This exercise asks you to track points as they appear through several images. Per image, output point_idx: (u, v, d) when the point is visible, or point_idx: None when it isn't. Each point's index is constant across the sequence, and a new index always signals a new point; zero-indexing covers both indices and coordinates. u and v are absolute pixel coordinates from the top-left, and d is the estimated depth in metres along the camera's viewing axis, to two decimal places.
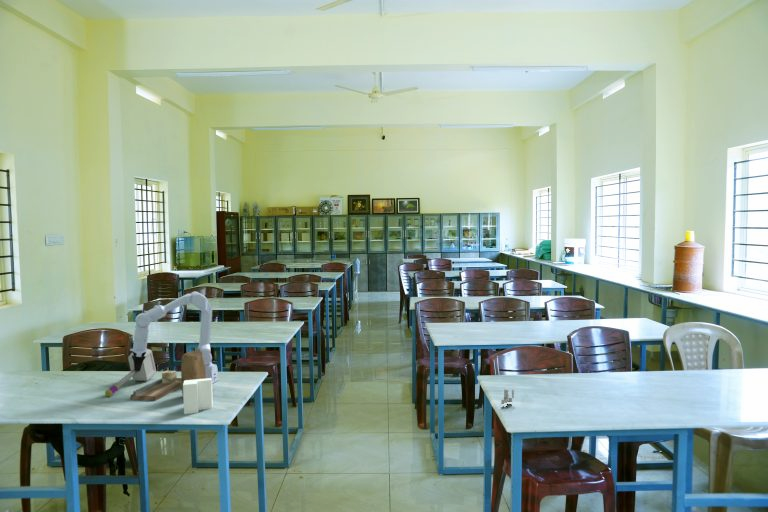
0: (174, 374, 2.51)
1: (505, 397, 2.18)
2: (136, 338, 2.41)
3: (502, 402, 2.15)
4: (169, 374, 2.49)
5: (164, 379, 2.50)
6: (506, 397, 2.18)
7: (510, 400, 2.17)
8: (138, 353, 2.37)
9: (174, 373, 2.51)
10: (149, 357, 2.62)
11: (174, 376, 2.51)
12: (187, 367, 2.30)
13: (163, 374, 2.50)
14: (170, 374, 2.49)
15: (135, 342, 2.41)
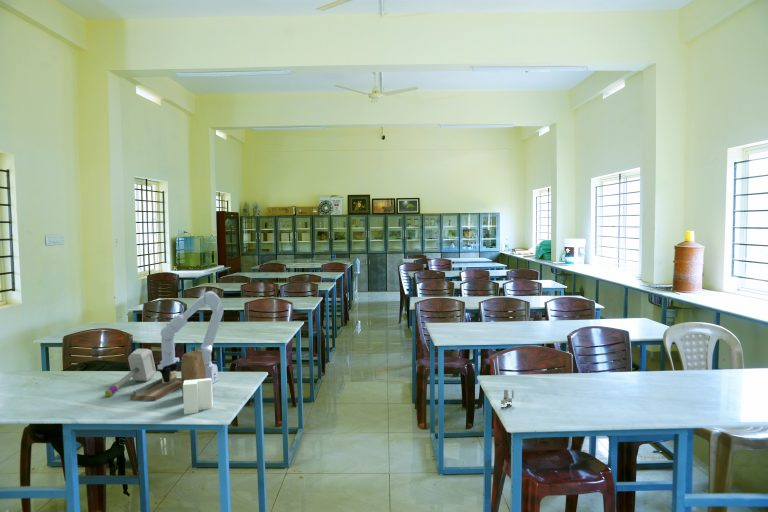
0: (174, 374, 2.51)
1: (505, 397, 2.18)
2: (163, 351, 2.48)
3: (502, 402, 2.15)
4: None
5: None
6: (506, 397, 2.17)
7: (510, 400, 2.17)
8: (159, 366, 2.44)
9: (174, 373, 2.51)
10: (149, 357, 2.62)
11: (174, 376, 2.51)
12: (187, 367, 2.30)
13: None
14: (170, 374, 2.49)
15: (162, 355, 2.49)
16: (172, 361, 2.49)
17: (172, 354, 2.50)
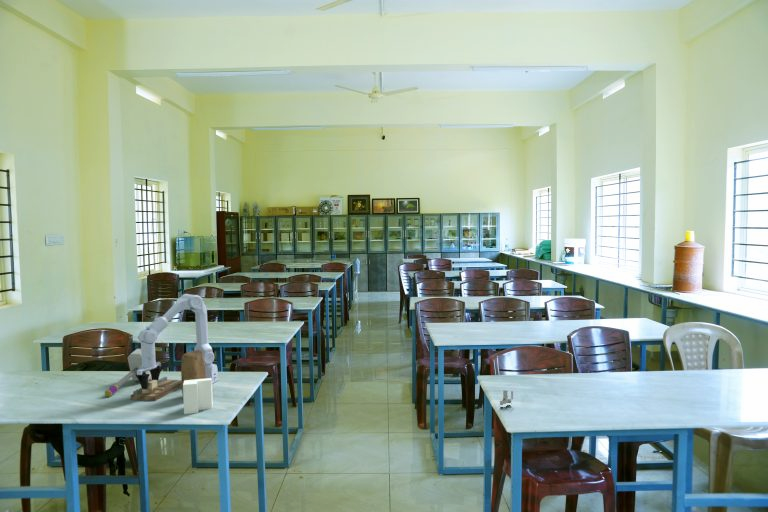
0: (155, 383, 2.37)
1: (504, 398, 2.17)
2: (146, 355, 2.33)
3: (501, 403, 2.14)
4: (149, 383, 2.34)
5: (144, 389, 2.35)
6: (505, 398, 2.17)
7: (509, 401, 2.16)
8: (138, 371, 2.29)
9: (155, 382, 2.37)
10: None
11: (155, 385, 2.37)
12: (187, 367, 2.30)
13: None
14: (150, 383, 2.34)
15: None
16: (152, 366, 2.35)
17: (152, 358, 2.35)
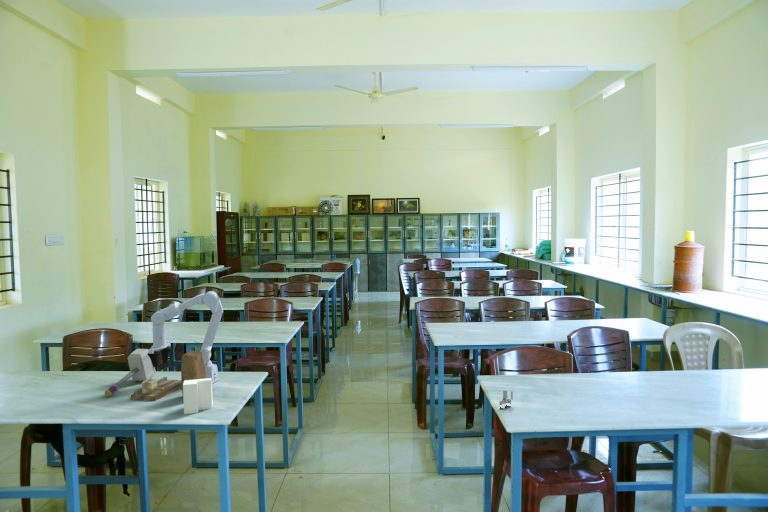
0: (155, 383, 2.37)
1: (504, 398, 2.16)
2: (154, 336, 2.50)
3: (500, 403, 2.14)
4: (149, 383, 2.34)
5: (144, 389, 2.35)
6: (505, 398, 2.16)
7: (509, 401, 2.16)
8: (149, 350, 2.45)
9: (155, 382, 2.37)
10: (148, 357, 2.61)
11: (155, 385, 2.37)
12: (187, 367, 2.30)
13: (143, 384, 2.35)
14: (150, 383, 2.34)
15: (153, 339, 2.51)
16: (163, 346, 2.51)
17: (163, 339, 2.51)
